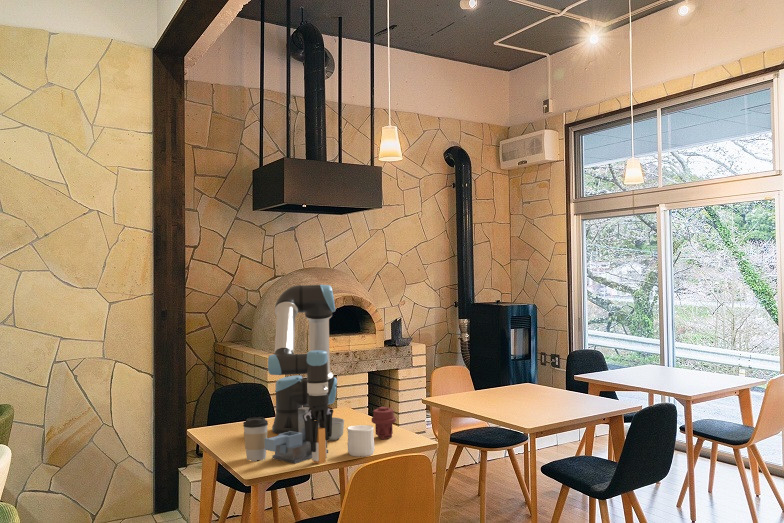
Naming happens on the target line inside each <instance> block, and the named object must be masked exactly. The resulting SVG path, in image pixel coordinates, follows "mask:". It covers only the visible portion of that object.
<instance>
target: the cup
mask: <svg viewBox="0 0 784 523" xmlns="http://www.w3.org/2000/svg"><path fill="white" fill-rule="evenodd" d="M374 428H375V427H374V426H373V425H368V424H364V425H363V424H358V425H350V426H348V427H347V428H346V430H347V452H348V454H349V455H350V456H351V457H360V456H361V457H370V456H372V455H373V454H374V453H375V452H374V451H375V440H374Z"/></svg>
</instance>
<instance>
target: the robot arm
mask: <svg viewBox="0 0 784 523" xmlns="http://www.w3.org/2000/svg"><path fill="white" fill-rule="evenodd" d="M333 291H334V290H333V288H332V286H331V285H330V284H305V285H299V284H298V285H292V286H290V287H288V288H287V289H285V290H284V291H283V292H282V293H281V294H280V295H279V296H278V298H277V300H276V302H275V307H274V314H275V316H276V323H275V326H276V327H275V339H274V340H275V341H274V354H270V355H269V356H268V357H267V370H268V371H267V372H268V374H269V375H270V376H284V377H281V378H279V379H277V381H276V382H275V390H274V392H275V415H274V419H273V424H272V426H271V432H272V433H273V434H275V435H278V434H281V433H285V432H289V431H294V432H299V428H298V408H302V407H309V410H308V413H307V414H306V415H303V419H304V423H305V435H306V441H307V442H310V443H311V452H312V458H311V460H312V462H313V461H319V444H318V442H317V433H318V424H319V426H320V428H325V447H326V459H327V458H328V457H327V456H328V455H327V454H328V453H327V450H328V441H329V439H330V438H329V437H331V436H332V417H333V414H334V408H333V409H331V408H329V407H328V405H332V404H334V403H335V400H336V395H337V385H338V378H337V377H335V376H334V373H333V372H332V371H331V362H330V361H331V360H330V359H331V358H330V353H331V352H330V319H331V318H332V317H333V313H334V312H336V303H335V297H334V296H335V295H334V292H333ZM299 313H300V314H302V313H304V317H305V318H306V319H307V320H308V335H309V336H308V338H309V341H308V342H309V343H308V344H309V351H307V352H306V353H295V342H296V341H295V339H296V337H295V336H296V334H295V333H296V317H297V316H298V314H299ZM289 375H290V376H289ZM302 375H306V378H303V376H302Z"/></svg>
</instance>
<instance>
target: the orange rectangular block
mask: <svg viewBox="0 0 784 523" xmlns="http://www.w3.org/2000/svg"><path fill="white" fill-rule="evenodd" d="M317 442H318V444H319V461H313V460H312V463H313V462H314V464H317V463H318V465H321V464H323V463H326V462H327V458H326V449H327V448H326V447H325V428H320V427H318V433H317Z"/></svg>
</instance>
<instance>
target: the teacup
mask: <svg viewBox="0 0 784 523" xmlns="http://www.w3.org/2000/svg"><path fill="white" fill-rule="evenodd" d="M344 425H345V419H344V418H340V417H336V416H335V417H333V416H332V436H331V437H329V438H330V439H329V440H328V441H337V440H339V439H340V438H341V437H342V436H343V435H344V428H345V426H344ZM318 427H320V426H319V424H318Z"/></svg>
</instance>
